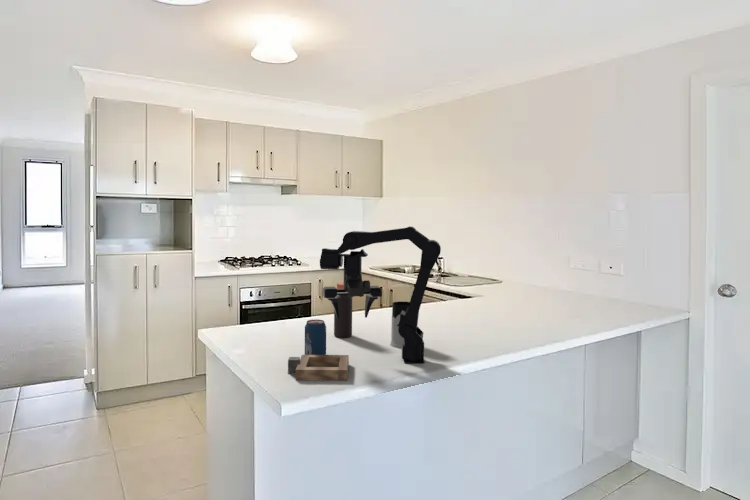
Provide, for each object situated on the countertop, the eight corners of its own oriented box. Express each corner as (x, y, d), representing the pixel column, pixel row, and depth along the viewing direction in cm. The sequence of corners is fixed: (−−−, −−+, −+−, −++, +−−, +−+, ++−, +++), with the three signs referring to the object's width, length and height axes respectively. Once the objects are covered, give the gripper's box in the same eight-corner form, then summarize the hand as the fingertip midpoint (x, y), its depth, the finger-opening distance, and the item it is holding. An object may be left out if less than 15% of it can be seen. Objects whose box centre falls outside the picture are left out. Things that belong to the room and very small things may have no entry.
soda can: (327, 355, 168) (328, 319, 167) (323, 361, 161) (324, 324, 160) (307, 354, 168) (307, 318, 167) (302, 360, 162) (302, 323, 161)
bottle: (349, 338, 189) (349, 285, 187) (331, 337, 190) (332, 284, 188) (353, 334, 195) (354, 282, 194) (336, 333, 197) (337, 282, 195)
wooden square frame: (348, 364, 158) (348, 351, 158) (346, 380, 144) (347, 366, 143) (292, 363, 158) (292, 351, 158) (284, 379, 143) (284, 366, 143)
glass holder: (394, 348, 176) (394, 306, 175) (382, 338, 190) (383, 298, 189) (417, 347, 179) (418, 305, 177) (404, 337, 192) (405, 298, 191)
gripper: (327, 274, 154) (326, 324, 155) (386, 273, 158) (385, 322, 159) (322, 269, 164) (322, 316, 166) (378, 268, 169) (377, 315, 170)
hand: (351, 317), depth 165 cm, fingers open, 9 cm apart
